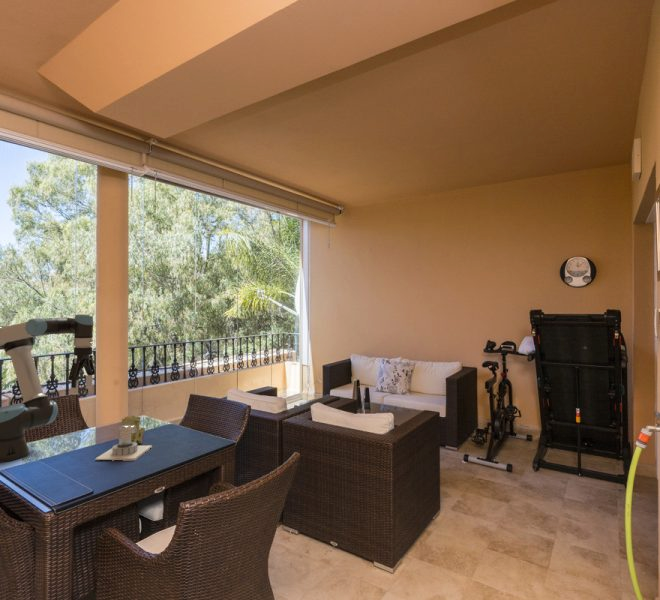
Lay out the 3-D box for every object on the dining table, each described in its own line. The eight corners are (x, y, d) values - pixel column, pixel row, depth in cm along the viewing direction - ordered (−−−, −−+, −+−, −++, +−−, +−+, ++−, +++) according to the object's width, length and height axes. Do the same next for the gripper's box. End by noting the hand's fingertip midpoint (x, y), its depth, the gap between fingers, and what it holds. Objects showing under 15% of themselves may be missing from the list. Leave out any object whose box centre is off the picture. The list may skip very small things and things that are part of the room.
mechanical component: (144, 455, 213) (152, 415, 222) (127, 452, 198) (136, 409, 206) (129, 454, 214) (138, 415, 222) (111, 452, 198) (121, 409, 207)
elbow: (123, 454, 192) (123, 428, 192) (116, 452, 194) (116, 426, 195) (137, 449, 198) (138, 424, 199) (131, 447, 201) (131, 423, 201)
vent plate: (95, 460, 186) (95, 452, 186) (116, 447, 204) (116, 439, 204) (134, 460, 186) (134, 451, 186) (152, 447, 204) (152, 439, 204)
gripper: (78, 349, 184) (76, 397, 183) (103, 344, 209) (102, 386, 208) (60, 349, 183) (58, 397, 183) (87, 344, 208) (86, 386, 207)
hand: (81, 391), depth 195 cm, fingers open, 13 cm apart
